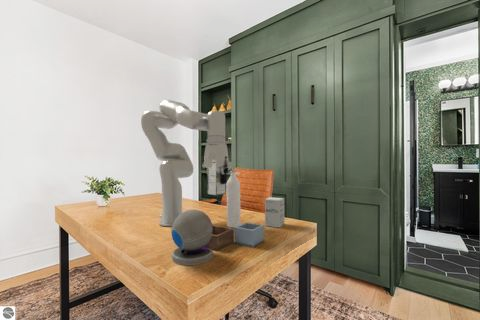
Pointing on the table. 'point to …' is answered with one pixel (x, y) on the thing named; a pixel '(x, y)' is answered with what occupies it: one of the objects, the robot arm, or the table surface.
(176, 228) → the webcam
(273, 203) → the supplement box
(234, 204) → the water bottle
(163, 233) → the table surface
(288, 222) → the table surface
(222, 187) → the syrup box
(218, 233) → the walnut box
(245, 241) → the blue-grey open box
